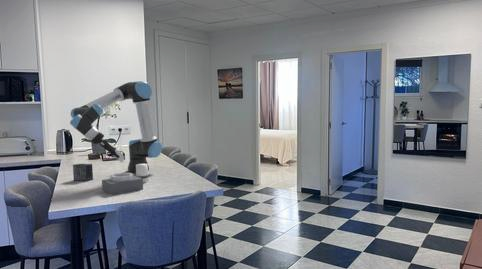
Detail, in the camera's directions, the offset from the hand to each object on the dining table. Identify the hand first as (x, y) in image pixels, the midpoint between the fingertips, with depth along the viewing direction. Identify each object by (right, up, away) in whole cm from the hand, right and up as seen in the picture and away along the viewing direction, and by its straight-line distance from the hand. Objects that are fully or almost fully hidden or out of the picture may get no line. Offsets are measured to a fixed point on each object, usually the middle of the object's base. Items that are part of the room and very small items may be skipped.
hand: (122, 159), depth 210 cm
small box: (-31, -15, +15) cm, 37 cm away
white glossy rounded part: (+10, -14, +5) cm, 19 cm away
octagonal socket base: (+5, -16, -14) cm, 22 cm away
